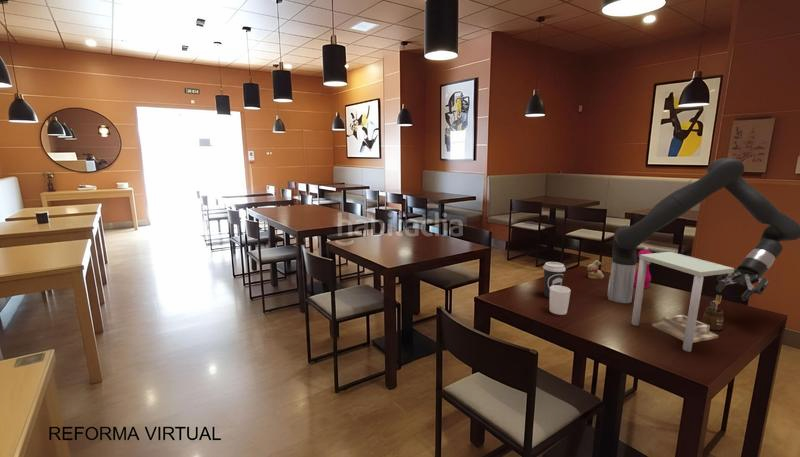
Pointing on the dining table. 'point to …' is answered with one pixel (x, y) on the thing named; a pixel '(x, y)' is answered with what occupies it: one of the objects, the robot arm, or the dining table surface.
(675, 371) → the dining table surface
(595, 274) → the chocolate bunny
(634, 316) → the white bench
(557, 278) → the coffee cup
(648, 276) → the pepper mill
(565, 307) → the white cup
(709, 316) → the utensil holder
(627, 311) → the dining table surface
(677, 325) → the socket block
